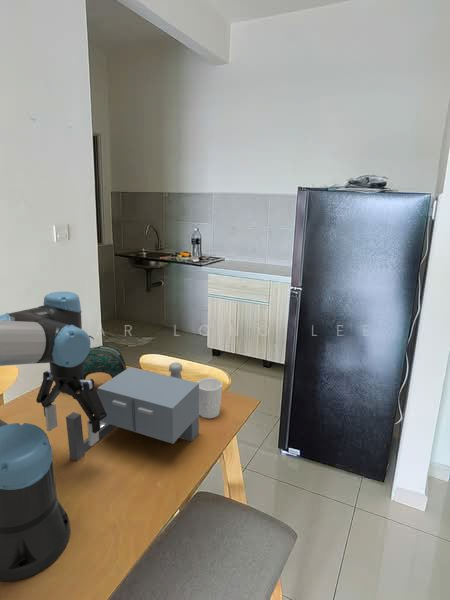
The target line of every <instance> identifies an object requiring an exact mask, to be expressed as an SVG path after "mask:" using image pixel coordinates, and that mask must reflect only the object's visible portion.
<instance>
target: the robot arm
mask: <svg viewBox="0 0 450 600" xmlns="http://www.w3.org/2000/svg"><path fill="white" fill-rule="evenodd" d="M82 323H83V322H82V307H81V302H80V297H79V295H78V294H76V293H75V292H71V291H55V292H49V293H47V294H46V295H44V298H43V305H41V306H37V307H33V308H29V309H27V308H26V309H23V310H19V311H13V312H6V313H4V314H1V315H0V367H2V366H18V365H20V366H21V365H30V364H31V365H33V364H49V369H48V370H46V371H44V372H43V374H42V382H41V385H40V387H39V391H38V394H37V396H36V403H37V404H41V406H42V407H43V415H44V417H45V423H46V431H47V432H51V431H52V430H54V429H56V428H57V427H58V416H57V405H56V403H55V401H56V399H57V397H58V396H59V395H60V393H62V394H66V395H67V396H70V397H72V399H74V400H76V401H77V403H78V404H79V406H80V408H81V409H82V410H83V412H84V414H85V416H87V418H88V421H87V422H86V424H87V436H88V437H87V438H88V441H89V446H92V445H93V444H94V445H96V444H97V443H98V442H100V440H99V432H98V431H100V421H101V420H102V419H104V418H105V417H106V416H107V414H106V412H105V409H104V407H103V405H102V403H101V400H100V398H99V396H98V391H97V388H96V384H95V381H94V378H90V379H87V380H84V379H83V376H82V374H83V371H84V360H85V359H86V357H87V355H88V353H89V350H90V348H91V337H89V336H90V335H89V334H88V333H87V332H86V331H85V330H84V329H82V326H83V325H82ZM54 383H55V384H54ZM53 384H54V385H53ZM52 386H53V387H52ZM79 390H81V392H78V391H79ZM97 441H98V442H97ZM96 442H97V443H96ZM95 443H96V444H95ZM94 445H93V446H94ZM93 446H92V447H93ZM55 481H56V479H55V472H54V463H53V449H52V445H51V443H50V439H49V436H48V434H47V433H46V432H45V430H44V429H43V428H41V427H39V426H37V425H36V424H33V423H26V422H24V423H23V424H20V423H19V422H14V423H8V422H6V421H4V420H2V419H1V418H0V582H15V581H20V580H21V581H22V580H23V579H27V578H31V577H33V576H35V575H36V574H38V573H41V572H42V571H43V570H45V569H46V568H48V567H49V566H50V565H52V564H53V563H54V562H55V561H56V560H57V559H58V558H59V557H60V556H61V554H62V553H63V552H64V551H65V549H66V548H67V546H68V543H69V540H70V537H71V525H70V524H71V523H70V518H69V515H68V514H67V513H68V512H67V511H66V510H65V508H64V507H63V505H62V504H61V502H60V501H59V499H58V498H57V490H56V482H55Z"/></svg>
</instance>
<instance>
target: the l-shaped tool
mask: <svg viewBox="0 0 450 600" xmlns="http://www.w3.org/2000/svg"><path fill="white" fill-rule="evenodd" d="M65 421H66V431H67V442H68V450H69V459H71V460H74V461H79V460H81V459H82V458H83V457H84V456H85V454H86V453H87V451H88V450H90V448H92V447H93V446H94V445H96V444H97V443H98V442H99V441H101V440H102V439H103V438H104V437H106V436H107V435H108V434H109V433H111V432H112V431H113V430H114V429H115V428H116V427H117V426H114V425H111V424H108V423H106V424H105V425H104V426H102V427H101V428H100V431H98V432H99V441H97V442H96V443H95V444H93V445H92V446H89V441H88V437H87V438H86V439H85V440H84V435H83V434H84V432H83V422H82V421H83V420H82V414H80V413H78V412H74V411H73V412H71V413H70V414H68V415H66V416H65Z"/></svg>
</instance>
